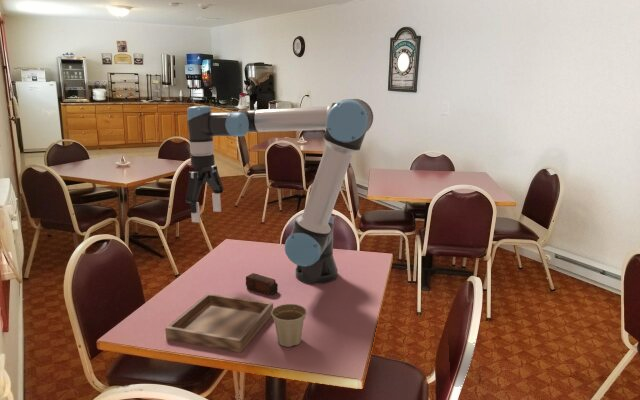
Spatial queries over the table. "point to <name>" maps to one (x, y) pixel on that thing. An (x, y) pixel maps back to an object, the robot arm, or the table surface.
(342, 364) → the table surface
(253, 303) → the tray
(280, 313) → the flower pot
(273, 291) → the brick
